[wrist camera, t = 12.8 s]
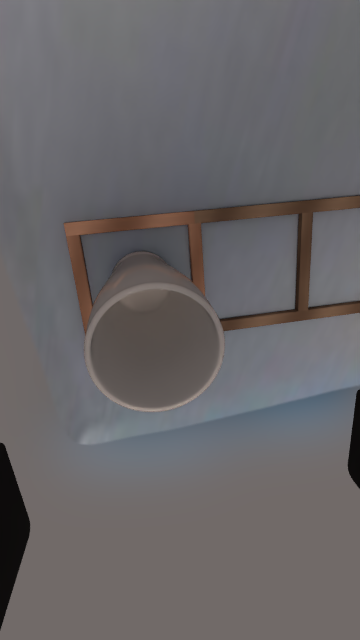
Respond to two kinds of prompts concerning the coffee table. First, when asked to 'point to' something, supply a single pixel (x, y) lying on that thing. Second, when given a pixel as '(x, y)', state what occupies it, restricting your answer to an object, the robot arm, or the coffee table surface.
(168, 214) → the copper window frame
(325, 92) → the coffee table surface
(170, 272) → the drinking glass
